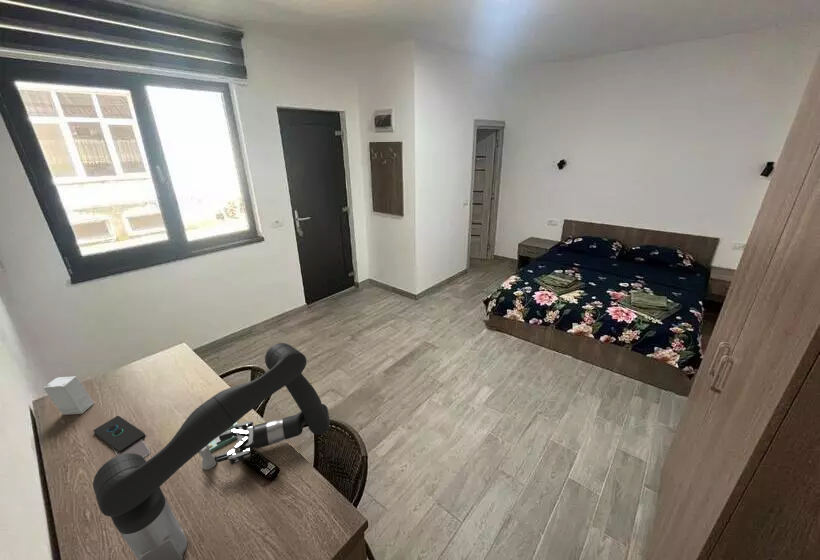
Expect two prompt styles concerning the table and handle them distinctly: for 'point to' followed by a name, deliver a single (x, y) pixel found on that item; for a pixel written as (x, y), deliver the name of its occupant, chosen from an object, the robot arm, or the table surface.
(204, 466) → the rook chess piece
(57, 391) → the skincare box
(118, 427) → the smart home device
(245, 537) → the table surface
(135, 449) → the smartphone
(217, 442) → the header board
